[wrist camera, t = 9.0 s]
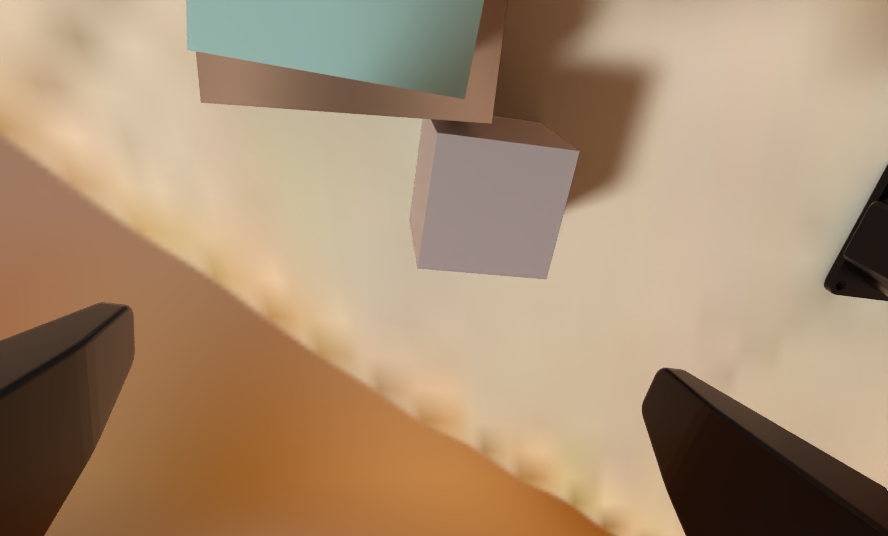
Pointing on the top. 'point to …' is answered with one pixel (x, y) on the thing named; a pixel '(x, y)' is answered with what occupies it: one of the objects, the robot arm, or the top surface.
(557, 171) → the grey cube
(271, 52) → the teal cube
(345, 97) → the walnut block
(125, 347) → the robot arm
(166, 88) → the top surface
